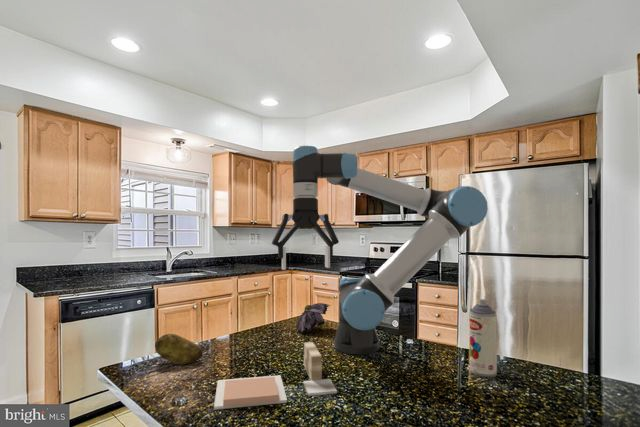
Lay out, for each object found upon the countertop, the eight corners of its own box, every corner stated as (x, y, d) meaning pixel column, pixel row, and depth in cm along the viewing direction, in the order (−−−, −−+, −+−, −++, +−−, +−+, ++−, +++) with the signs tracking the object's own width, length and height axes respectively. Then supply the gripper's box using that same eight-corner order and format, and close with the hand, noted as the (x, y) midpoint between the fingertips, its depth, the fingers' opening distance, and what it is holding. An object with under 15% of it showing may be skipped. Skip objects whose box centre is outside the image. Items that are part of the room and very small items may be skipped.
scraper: (296, 365, 103) (296, 343, 104) (320, 364, 105) (320, 341, 105) (308, 395, 85) (308, 368, 85) (336, 393, 86) (337, 365, 87)
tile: (274, 376, 90) (278, 394, 81) (274, 383, 90) (278, 401, 81) (225, 380, 88) (223, 399, 78) (225, 387, 88) (223, 407, 78)
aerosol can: (464, 368, 103) (464, 297, 103) (486, 366, 104) (485, 297, 105) (479, 378, 96) (478, 302, 97) (502, 376, 97) (501, 301, 98)
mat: (280, 377, 95) (280, 375, 95) (287, 402, 82) (287, 399, 82) (217, 382, 92) (217, 380, 92) (213, 409, 78) (213, 406, 78)
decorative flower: (300, 300, 149) (331, 292, 143) (310, 325, 150) (342, 319, 144) (285, 317, 136) (319, 310, 130) (296, 345, 137) (331, 339, 131)
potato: (188, 370, 100) (189, 340, 100) (149, 365, 103) (150, 336, 103) (205, 359, 108) (206, 332, 108) (168, 355, 111) (169, 329, 111)
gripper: (266, 196, 101) (266, 271, 101) (348, 197, 109) (349, 267, 108) (262, 198, 109) (262, 268, 108) (339, 199, 116) (340, 265, 115)
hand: (306, 268), depth 108 cm, fingers open, 13 cm apart
